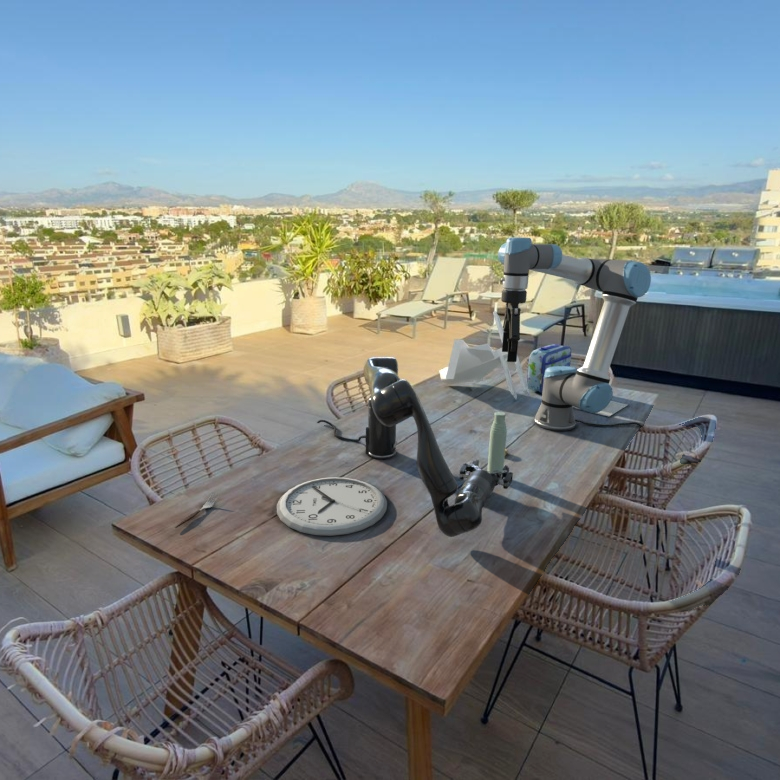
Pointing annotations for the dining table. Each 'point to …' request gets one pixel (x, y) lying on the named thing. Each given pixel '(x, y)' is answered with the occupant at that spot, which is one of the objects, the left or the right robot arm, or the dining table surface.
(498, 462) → the bottle
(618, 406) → the invitation card
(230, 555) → the dining table surface
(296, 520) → the wall clock
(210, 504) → the fork
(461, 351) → the white plastic object
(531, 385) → the lunch box
